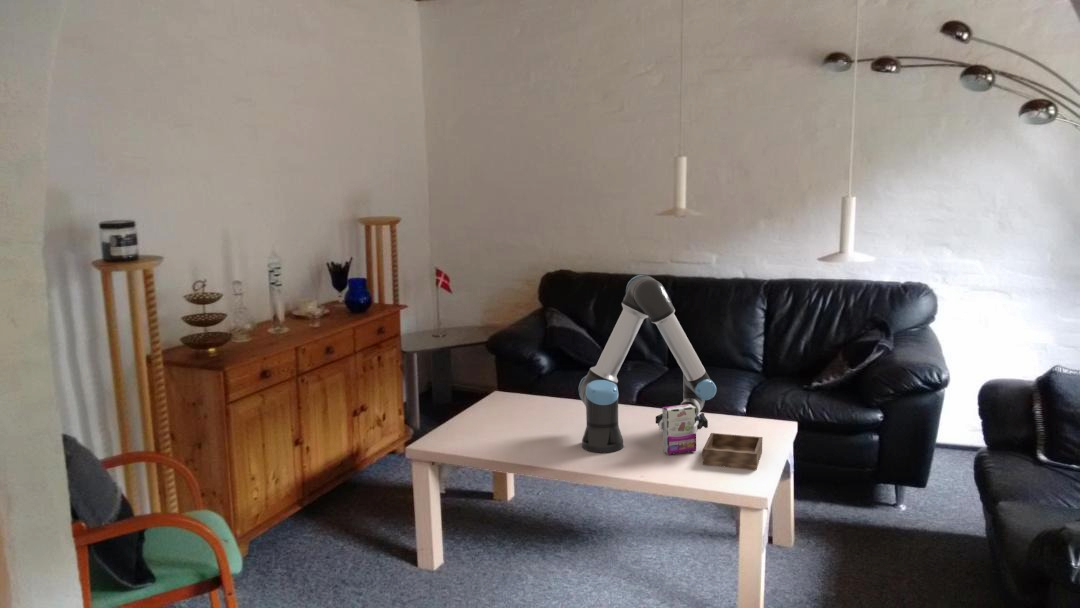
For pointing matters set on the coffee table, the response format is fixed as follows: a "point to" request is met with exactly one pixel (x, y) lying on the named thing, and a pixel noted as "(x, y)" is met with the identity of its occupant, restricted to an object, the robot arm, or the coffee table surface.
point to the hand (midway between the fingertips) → (677, 428)
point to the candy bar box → (679, 429)
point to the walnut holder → (732, 451)
